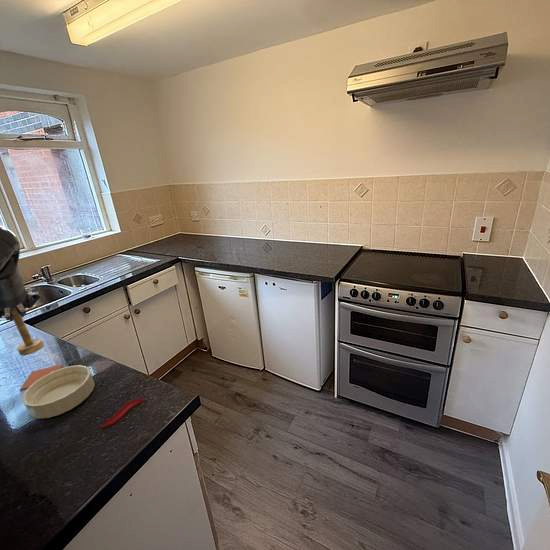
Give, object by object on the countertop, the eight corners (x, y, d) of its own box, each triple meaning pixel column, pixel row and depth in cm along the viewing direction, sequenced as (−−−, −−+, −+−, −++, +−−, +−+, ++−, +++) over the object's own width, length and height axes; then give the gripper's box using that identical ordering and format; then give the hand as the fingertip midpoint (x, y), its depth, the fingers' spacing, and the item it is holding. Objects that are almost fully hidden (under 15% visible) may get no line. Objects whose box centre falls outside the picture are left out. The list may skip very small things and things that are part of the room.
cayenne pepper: (144, 396, 84) (142, 390, 83) (149, 405, 81) (147, 399, 80) (97, 419, 78) (94, 414, 77) (100, 431, 74) (97, 425, 73)
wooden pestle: (16, 357, 88) (-7, 312, 83) (24, 346, 93) (4, 303, 88) (39, 352, 90) (19, 307, 84) (46, 341, 95) (28, 299, 90)
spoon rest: (20, 390, 91) (19, 389, 91) (32, 372, 100) (31, 371, 99) (53, 382, 94) (53, 380, 94) (62, 365, 102) (62, 363, 102)
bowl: (18, 428, 77) (10, 413, 76) (42, 387, 92) (36, 374, 90) (88, 408, 82) (81, 394, 80) (100, 372, 96) (95, 359, 94)
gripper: (31, 267, 82) (38, 297, 94) (-37, 285, 73) (-20, 316, 85) (43, 288, 80) (48, 316, 93) (-25, 309, 71) (-9, 337, 83)
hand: (16, 316), depth 89 cm, fingers closed on wooden pestle
